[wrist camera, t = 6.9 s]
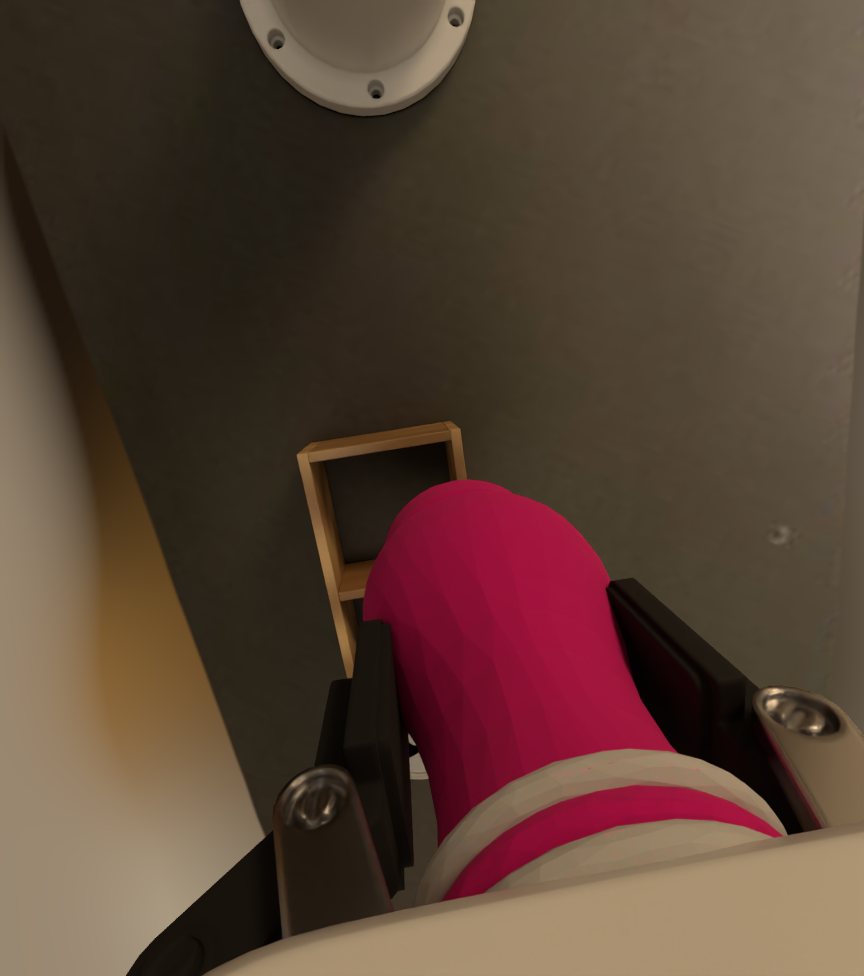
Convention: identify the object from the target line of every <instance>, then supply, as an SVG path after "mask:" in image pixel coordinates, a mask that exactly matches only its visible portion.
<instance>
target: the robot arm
mask: <svg viewBox="0 0 864 976" xmlns="http://www.w3.org/2000/svg"><path fill="white" fill-rule="evenodd" d="M240 3H241V7H242V9H243V12H244V14H245V16H246V19H247V21H248V24H249V26H250V28H251V31H252V33H253V35H254V36H255V38H256V40H257V42H258V44H259V45H260V47H261V49H262V51H263V53H264V54H265V56H266V57H267V59H268V60H269V61H270V62H271V64H272V65H273V66H274V67H275V69H276V70H277V71H278V72H279V74H280V75H281V76H282V77H283V78H284V79H285V80H286V81H287V82H289V83H290V84H291V85H292V86H293V87H294V88H295V89H296V90H297V91H299V92H300V93H301V94H303V95H304V96H306V97H308V98H309V99H311V100H313V101H314V102H316V103H318V104H319V105H321V106H324V107H326V108H329V109H332V110H335V111H337V112H340V113H345V114H351V115H358V116H373V115H385V114H388V113H391V112H395V111H398V110H401V109H404V108H406V107H408V106H410V105H411V104H413V103H415V102H417V101H419V100H420V99H422V98H424V97H425V96H426V95H427V94H428V93H429V92H430V91H431V90H433V89H434V88H435V87H436V86H437V85H438V84H439V83H440V82H441V81H442V80H443V78H444V77H445V76H446V74H447V73H448V72H449V70H450V69H451V68H452V66H453V65H454V63H455V61H456V59H457V57H458V55H459V53H460V51H461V49H462V47H463V45H464V43H465V40H466V37H467V34H468V30H469V27H470V24H471V20H472V17H473V11H474V6H475V0H240ZM452 25H456V26H457V27H454V26H452ZM278 46H282V48H280V49H276V48H277V47H278ZM375 94H378V95H379V96H380V97H381V98H379V99H374V98H372V97H373V95H375ZM608 586H609V587H608V588H606V591H607V593H608V596H609V598H610V601H611V604H612V607H613V610H614V613H615V616H616V619H617V622H618V624H619V627H620V630H621V633H622V636H623V639H624V642H625V645H626V649H627V654H628V658H629V663H630V667H631V672H632V676H633V681H634V683H635V686H636V688H637V691H638V693H639V696H640V699H641V701H642V702H643V704H644V705H645V707H646V708H647V710H648V712H649V713H650V715H651V716H652V718H653V719H654V721H655V722H656V724H657V725H658V727H659V728H660V730H661V731H662V733H663V735H664V736H665V738H666V739H667V741H668V742H669V744H670V745H671V746H672V747H673V748H674V749H675V750H676V752H677V753H678V754H681V755H685V756H689V757H693V758H697V759H701V760H703V761H705V762H707V763H710V764H712V765H714V766H716V767H719V768H721V769H723V770H725V771H727V772H729V773H731V774H732V775H733V776H735V777H736V778H738V779H739V780H741V781H742V782H743V783H745V784H746V785H747V786H748V787H750V788H751V789H752V790H753V791H754V792H756V793H757V794H758V795H759V796H760V797H761V798H762V799H763V800H765V801H766V803H767V804H768V805H769V807H770V808H771V809H772V810H773V812H774V813H775V815H776V816H777V817H778V819H779V820H780V822H781V823H782V825H783V826H784V828H785V830H786V832H787V836H782V837H776V838H771V839H765V840H760V841H754V842H749V843H743V844H739V845H735V846H731V847H727V848H722V849H718V850H714V851H709V852H705V853H700V854H695V855H691V856H686V857H681V858H676V859H671V860H666V861H661V862H656V863H651V864H646V865H640V866H635V867H629V868H624V869H619V870H613V871H608V872H602V873H596V874H590V875H584V876H577V877H571V878H565V879H558V880H552V881H546V882H539V883H534V884H529V885H524V886H519V887H514V888H509V889H504V890H499V891H494V892H489V893H483V894H478V895H473V896H468V897H463V898H458V899H453V900H448V901H443V902H438V903H433V904H428V905H423V906H418V907H414V908H409V909H405V910H400V911H395V912H394V909H393V905H392V902H391V899H392V898H393V896H394V895H395V894H396V893H397V891H399V890H405V889H404V868H406V867H411V866H414V853H413V829H412V806H411V782H410V759H409V735H408V731H407V730H406V728H405V726H404V725H403V721H402V716H401V711H400V706H399V701H398V692H397V684H396V676H395V667H394V659H393V650H392V639H391V629H390V623H386V624H383V623H382V619H375V620H369V621H362V622H360V623H359V630H358V637H357V645H356V652H355V660H354V668H353V675H352V678H347V679H341V680H336V681H332V683H331V686H330V690H329V695H328V700H327V705H326V710H325V715H324V720H323V725H322V731H321V736H320V741H319V746H318V751H317V756H316V761H315V766H314V767H311V768H308V769H306V770H305V771H303V772H301V773H299V774H297V775H296V776H295V777H294V778H293V779H291V780H290V781H289V782H288V783H287V784H286V785H285V786H284V788H283V789H282V790H281V792H280V793H279V794H278V796H277V799H276V801H275V803H274V806H273V814H272V822H273V831H272V832H271V833H270V834H268V835H267V836H266V837H265V838H264V839H263V840H262V841H261V842H260V843H259V844H258V845H256V846H255V847H254V849H252V850H251V851H250V852H249V853H248V854H247V855H246V856H244V857H243V859H241V860H240V861H239V862H238V863H237V864H236V865H235V866H234V867H233V868H232V869H230V870H229V871H228V872H227V873H226V874H225V875H224V876H223V877H222V878H221V879H219V880H218V881H217V882H216V883H215V884H214V885H213V886H212V887H211V888H210V889H209V890H207V891H206V892H205V893H204V894H203V895H202V896H201V897H200V898H199V899H198V900H197V901H196V902H194V903H193V904H192V905H191V906H190V907H189V908H188V909H187V910H186V911H185V912H183V914H181V915H180V916H179V917H178V918H177V919H176V920H175V921H174V922H173V923H171V924H170V925H169V926H168V927H167V928H166V929H165V930H164V931H163V932H162V933H161V934H159V935H158V936H157V937H156V938H155V939H154V940H153V941H152V942H151V943H150V944H149V946H148V947H147V948H146V949H145V950H144V951H143V952H142V953H141V954H140V955H139V957H138V958H137V960H136V961H135V963H134V964H133V966H132V967H131V969H130V970H129V972H128V973H127V975H126V976H864V736H863V734H862V733H861V732H860V731H859V729H858V728H857V727H856V726H855V725H854V723H853V722H852V721H851V720H850V718H849V717H848V716H847V715H846V714H845V713H844V712H843V711H842V710H841V709H840V708H839V707H838V706H837V705H835V704H834V703H832V702H830V701H829V700H827V699H826V698H824V697H822V696H819V695H817V694H815V693H813V692H810V691H807V690H803V689H800V688H796V687H790V686H782V685H779V686H768V687H764V688H761V689H759V688H758V687H757V686H756V685H754V684H753V683H752V682H751V681H750V680H749V679H748V678H747V677H746V676H745V675H743V674H742V673H741V672H740V671H739V670H738V669H737V668H735V667H734V666H733V665H732V664H731V663H730V662H729V661H728V660H726V659H725V658H724V657H723V656H722V655H721V654H720V653H718V652H717V651H716V650H715V649H714V648H713V647H712V646H710V645H709V644H708V643H707V642H706V641H705V640H704V639H702V638H701V637H700V636H699V635H698V634H697V633H696V632H694V631H693V630H692V629H691V628H690V627H689V626H688V625H687V624H685V623H684V622H683V621H682V620H681V619H680V618H679V617H677V616H676V615H675V614H674V613H673V612H672V611H671V610H669V609H668V608H667V607H666V606H665V605H664V604H663V603H661V602H660V601H659V600H658V599H657V598H656V597H655V596H654V595H652V594H651V593H650V592H649V591H648V590H647V589H646V588H644V587H643V586H642V585H641V584H640V583H639V582H638V581H636V580H635V579H634V578H628V579H622V580H615V581H610V582H609V585H608Z"/></svg>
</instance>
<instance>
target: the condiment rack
mask: <svg viewBox="0 0 864 976" xmlns="http://www.w3.org/2000/svg"><path fill="white" fill-rule="evenodd" d="M443 441H445V446H446V453H447V460H448V467H449V474H450V481H455V480H467V476H466V469H465V461H464V454H463V446H462V439H461V431H460V428H458V427H457V426H456V425H455V424H454V423H453V422H451V421H446V422H440V423H434V424H428V425H421V426H415V427H409V428H402V429H396V430H390V431H383V432H377V433H371V434H365V435H358V436H352V437H346V438H339V439H333V440H327V441H320V442H314V443H310V444H309V445H308V446H307V447H305V448H304V449H303V450H302V451H301V452H299V453H298V454H297V459H298V463H299V468H300V472H301V477H302V481H303V485H304V490H305V494H306V499H307V503H308V508H309V512H310V516H311V521H312V525H313V530H314V534H315V538H316V543H317V547H318V552H319V556H320V561H321V565H322V569H323V574H324V578H325V583H326V587H327V592H328V596H329V600H330V605H331V609H332V614H333V618H334V623H335V627H336V631H337V636H338V640H339V645H340V649H341V653H342V658H343V662H344V667H345V671H346V676H347V678H352V675H353V668H354V660H355V652H356V645H357V637H358V630H359V627H358V622H357V617H356V613H355V608H354V603H353V599H357V598H363V597H364V594H365V588H366V582H367V580H368V577H369V574H370V571H371V569H372V566H373V564H374V562H375V560H376V559H374V560H368V561H362V562H356V563H350V564H346V565H345V561H344V556H343V551H342V546H341V542H340V537H339V532H338V528H337V523H336V518H335V513H334V509H333V504H332V499H331V495H330V490H329V485H328V480H327V476H326V471H325V466H324V462H323V461H325V460H331V459H338V458H344V457H350V456H356V455H362V454H369V453H375V452H381V451H387V450H394V449H400V448H406V447H412V446H419V445H425V444H431V443H437V442H443Z"/></svg>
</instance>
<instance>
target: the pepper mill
mask: <svg viewBox="0 0 864 976" xmlns="http://www.w3.org/2000/svg"><path fill="white" fill-rule="evenodd" d="M609 582H610V578H609V576H608V574H607V572H606V570H605V568H604V566H603V564H602V562H601V560H600V558H599V557H598V555H597V554H596V553H595V551H594V550H593V549H592V547H591V546H590V545H589V543H588V542H587V541H586V540H585V539H584V538H583V536H582V535H581V534H580V533H579V532H578V530H577V529H576V528H575V527H573V526H572V525H571V524H570V523H569V522H568V521H567V520H566V519H565V518H564V517H563V516H561V515H560V514H558V513H557V512H555V511H554V510H552V509H551V508H549V507H548V506H546V505H544V504H542V503H539V502H537V501H534V500H532V499H529V498H526V497H523V496H519V495H516V494H513V493H512V492H510V491H508V490H506V489H505V488H503V487H501V486H498V485H495V484H493V483H489V482H485V481H477V480H455V481H450V482H447V483H443V484H440V485H436V486H434V487H431V488H429V489H427V490H426V491H424V492H422V493H420V494H419V495H417V496H416V497H415V498H414V499H412V500H411V501H410V502H409V503H408V504H407V505H406V506H405V507H404V508H403V509H402V510H401V511H400V513H399V514H398V515H397V516H396V518H395V520H394V522H393V523H392V525H391V527H390V529H389V532H388V534H387V537H386V541H385V545H384V546H383V548H382V549H381V551H380V553H379V554H378V556H377V558H376V560H375V562H374V564H373V566H372V569H371V571H370V574H369V577H368V580H367V582H366V588H365V594H364V600H363V621H369V620H375V619H382V623H383V624H386V623H390V629H391V639H392V650H393V659H394V667H395V676H396V684H397V692H398V701H399V706H400V711H401V716H402V721H403V725H404V726H405V728H406V730H407V731H408V733H409V734H410V736H411V738H412V739H413V741H414V743H415V744H416V746H417V749H418V751H419V754H420V757H421V759H422V762H423V765H424V767H425V770H426V772H427V775H428V778H429V783H430V788H431V793H432V799H433V804H434V809H435V814H436V819H437V827H438V850H437V851H436V853H435V854H434V856H433V857H432V859H431V861H430V862H429V864H428V866H427V869H426V871H425V873H424V875H423V878H422V880H421V882H420V884H419V887H418V889H417V892H416V897H415V901H414V906H413V908H414V907H418V906H423V905H428V904H433V903H438V902H443V901H448V900H453V899H458V898H463V897H468V896H473V895H478V894H483V893H489V892H494V891H499V890H504V889H509V888H514V887H519V886H524V885H529V884H534V883H539V882H546V881H552V880H558V879H565V878H571V877H577V876H584V875H590V874H596V873H602V872H608V871H613V870H619V869H624V868H629V867H635V866H640V865H646V864H651V863H656V862H661V861H666V860H671V859H676V858H681V857H686V856H691V855H695V854H700V853H705V852H709V851H714V850H718V849H722V848H727V847H731V846H735V845H739V844H743V843H749V842H754V841H760V840H765V839H771V838H776V837H782V836H787V832H786V830H785V828H784V826H783V825H782V823H781V822H780V820H779V819H778V817H777V816H776V815H775V813H774V812H773V810H772V809H771V808H770V807H769V805H768V804H767V803H766V801H765V800H763V799H762V798H761V797H760V796H759V795H758V794H757V793H756V792H754V791H753V790H752V789H751V788H750V787H748V786H747V785H746V784H745V783H743V782H742V781H741V780H739V779H738V778H736V777H735V776H733V775H732V774H731V773H729V772H727V771H725V770H723V769H721V768H719V767H716V766H714V765H712V764H710V763H707V762H705V761H703V760H701V759H697V758H693V757H689V756H685V755H681V754H678V753H677V752H676V750H675V749H674V748H673V747H672V746H671V745H670V744H669V742H668V741H667V739H666V738H665V736H664V735H663V733H662V731H661V730H660V728H659V727H658V725H657V724H656V722H655V721H654V719H653V718H652V716H651V715H650V713H649V712H648V710H647V708H646V707H645V705H644V704H643V702H642V701H641V699H640V696H639V693H638V691H637V688H636V686H635V683H634V681H633V676H632V672H631V667H630V663H629V658H628V654H627V649H626V645H625V642H624V639H623V636H622V633H621V630H620V627H619V624H618V622H617V619H616V616H615V613H614V610H613V607H612V604H611V601H610V598H609V596H608V593H607V591H606V588H608V587H609V586H608V585H609Z"/></svg>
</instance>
